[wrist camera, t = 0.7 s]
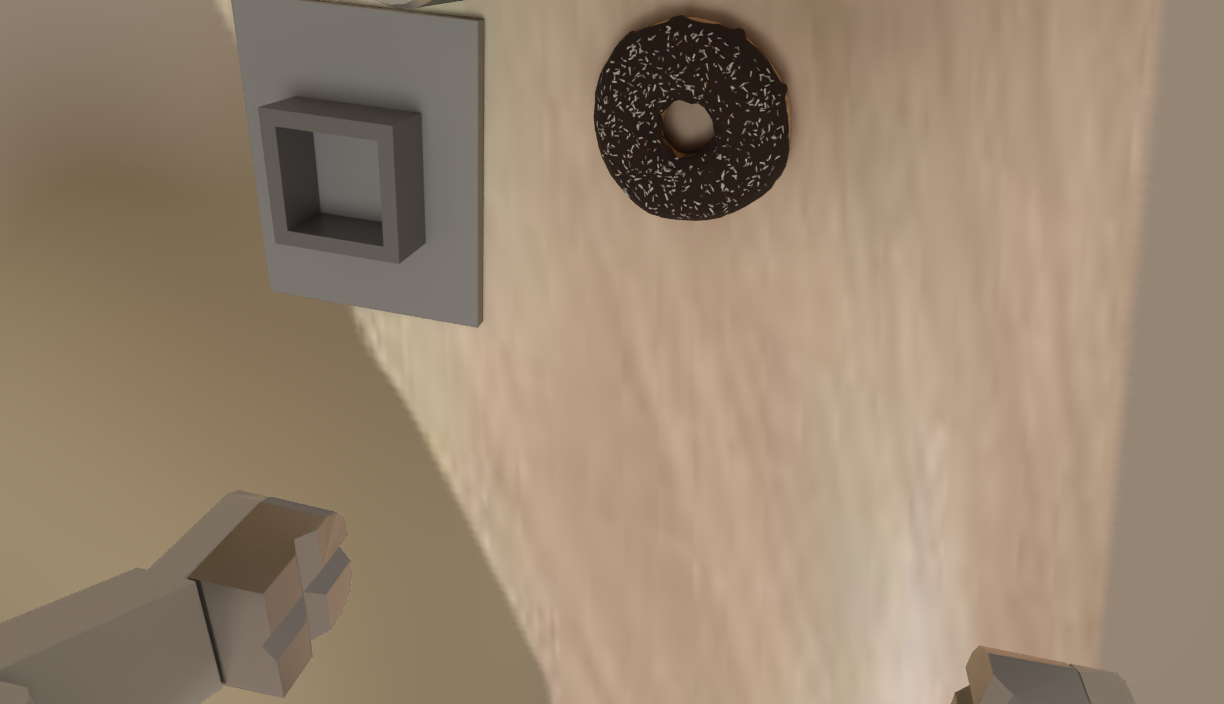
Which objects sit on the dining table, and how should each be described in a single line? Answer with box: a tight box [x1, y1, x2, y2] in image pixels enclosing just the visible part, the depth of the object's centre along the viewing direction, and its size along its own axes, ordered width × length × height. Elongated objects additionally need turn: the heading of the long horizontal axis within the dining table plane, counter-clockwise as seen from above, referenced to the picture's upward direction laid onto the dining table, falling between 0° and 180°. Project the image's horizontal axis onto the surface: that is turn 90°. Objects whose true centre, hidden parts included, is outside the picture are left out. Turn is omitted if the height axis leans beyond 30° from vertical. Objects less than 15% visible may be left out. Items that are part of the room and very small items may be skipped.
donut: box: [594, 16, 792, 221], centre depth 45 cm, size 11×12×4 cm
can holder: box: [231, 0, 484, 328], centre depth 50 cm, size 20×16×5 cm
